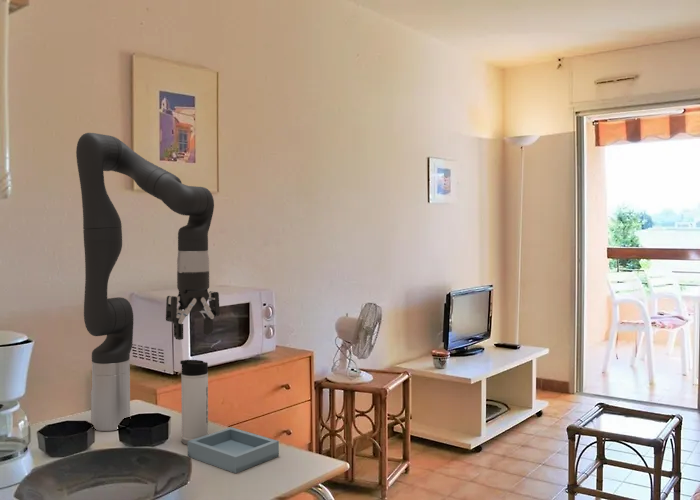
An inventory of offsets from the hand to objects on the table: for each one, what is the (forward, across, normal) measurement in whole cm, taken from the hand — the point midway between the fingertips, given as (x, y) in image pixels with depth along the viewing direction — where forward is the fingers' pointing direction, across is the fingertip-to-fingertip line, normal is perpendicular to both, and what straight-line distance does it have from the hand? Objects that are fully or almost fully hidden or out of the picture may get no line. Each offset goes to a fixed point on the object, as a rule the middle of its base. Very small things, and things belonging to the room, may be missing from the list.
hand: (193, 336), depth 157 cm
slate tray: (+26, +1, +15) cm, 30 cm away
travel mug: (+26, 0, 0) cm, 26 cm away
